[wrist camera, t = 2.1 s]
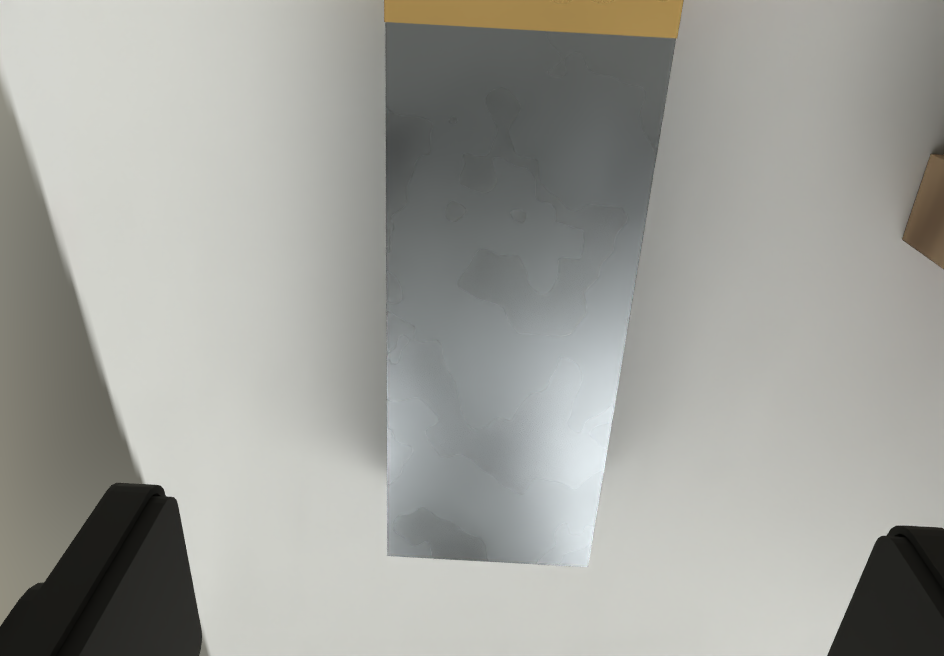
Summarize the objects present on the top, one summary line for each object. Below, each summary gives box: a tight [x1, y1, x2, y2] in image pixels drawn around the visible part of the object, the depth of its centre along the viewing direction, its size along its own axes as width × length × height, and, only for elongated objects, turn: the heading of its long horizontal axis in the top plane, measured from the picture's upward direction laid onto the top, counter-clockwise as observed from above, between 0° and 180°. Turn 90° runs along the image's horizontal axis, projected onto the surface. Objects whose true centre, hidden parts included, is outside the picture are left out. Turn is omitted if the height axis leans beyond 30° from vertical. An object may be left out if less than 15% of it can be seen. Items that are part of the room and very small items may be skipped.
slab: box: [384, 0, 683, 567], centre depth 20 cm, size 16×6×4 cm, turn 177°
